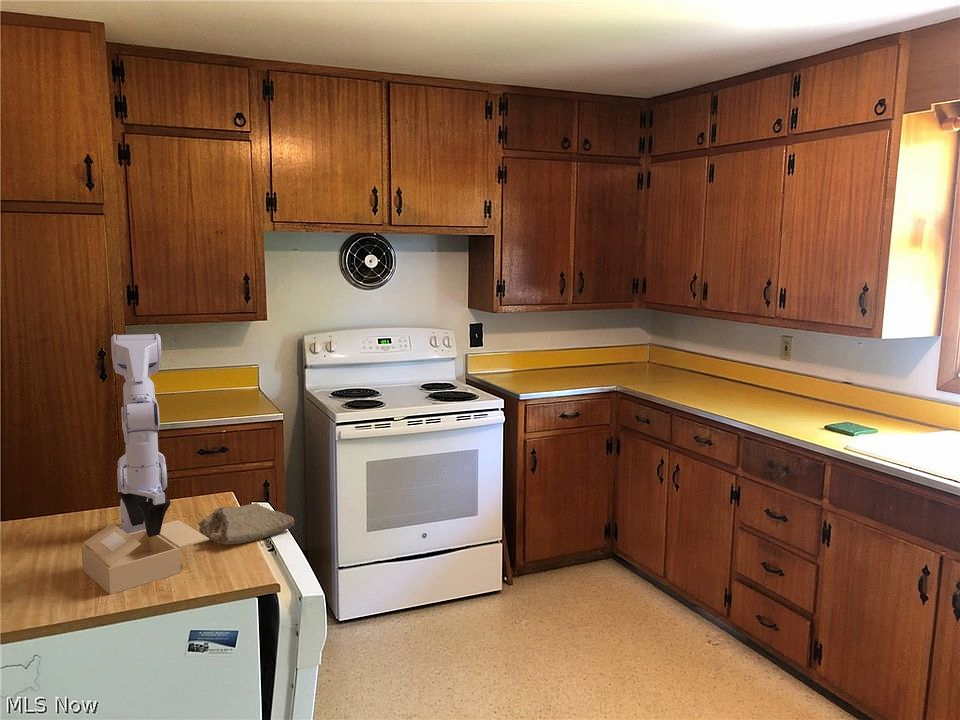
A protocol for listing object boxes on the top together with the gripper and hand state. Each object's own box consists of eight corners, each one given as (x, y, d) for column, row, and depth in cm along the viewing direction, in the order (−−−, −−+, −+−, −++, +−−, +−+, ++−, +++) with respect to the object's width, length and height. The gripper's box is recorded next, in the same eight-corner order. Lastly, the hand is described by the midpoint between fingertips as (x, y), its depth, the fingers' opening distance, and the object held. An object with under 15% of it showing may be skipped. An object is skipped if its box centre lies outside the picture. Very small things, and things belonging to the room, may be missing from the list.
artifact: (187, 538, 162) (221, 561, 153) (183, 507, 161) (218, 528, 151) (260, 511, 176) (296, 530, 166) (258, 482, 174) (294, 500, 164)
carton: (82, 570, 143) (81, 544, 143) (179, 543, 157) (178, 519, 157) (110, 594, 134) (108, 567, 133) (210, 563, 148) (209, 538, 147)
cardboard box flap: (84, 543, 143) (83, 542, 143) (112, 524, 146) (112, 522, 146) (111, 565, 134) (110, 564, 134) (141, 544, 137) (140, 542, 137)
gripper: (106, 459, 144) (110, 524, 146) (137, 476, 135) (140, 546, 137) (142, 452, 149) (145, 516, 151) (174, 468, 140) (177, 536, 142)
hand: (145, 529), depth 144 cm, fingers open, 7 cm apart
